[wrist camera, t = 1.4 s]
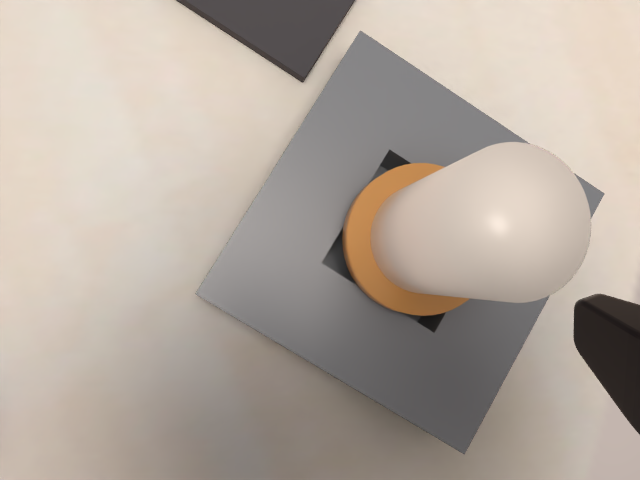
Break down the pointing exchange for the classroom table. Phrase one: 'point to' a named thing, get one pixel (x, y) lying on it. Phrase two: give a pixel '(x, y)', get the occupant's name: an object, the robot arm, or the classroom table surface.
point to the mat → (278, 27)
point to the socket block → (329, 263)
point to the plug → (468, 230)
